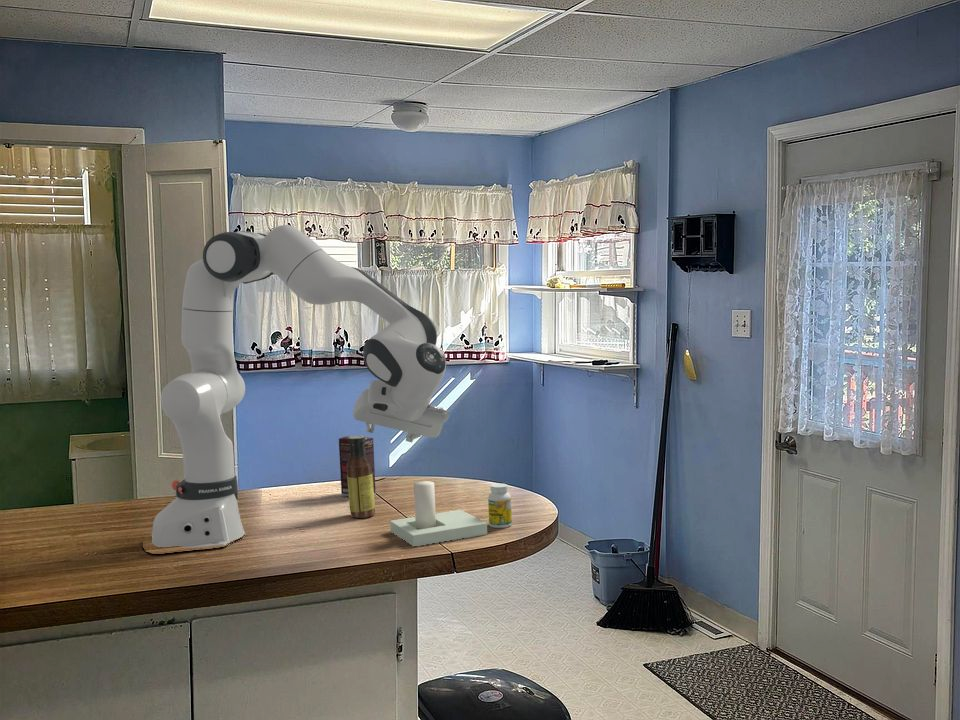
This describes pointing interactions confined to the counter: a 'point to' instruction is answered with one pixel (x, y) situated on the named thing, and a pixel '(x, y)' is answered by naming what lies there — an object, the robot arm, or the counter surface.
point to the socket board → (440, 528)
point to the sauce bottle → (360, 480)
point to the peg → (424, 505)
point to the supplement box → (344, 457)
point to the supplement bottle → (499, 506)
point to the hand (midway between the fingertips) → (389, 434)
